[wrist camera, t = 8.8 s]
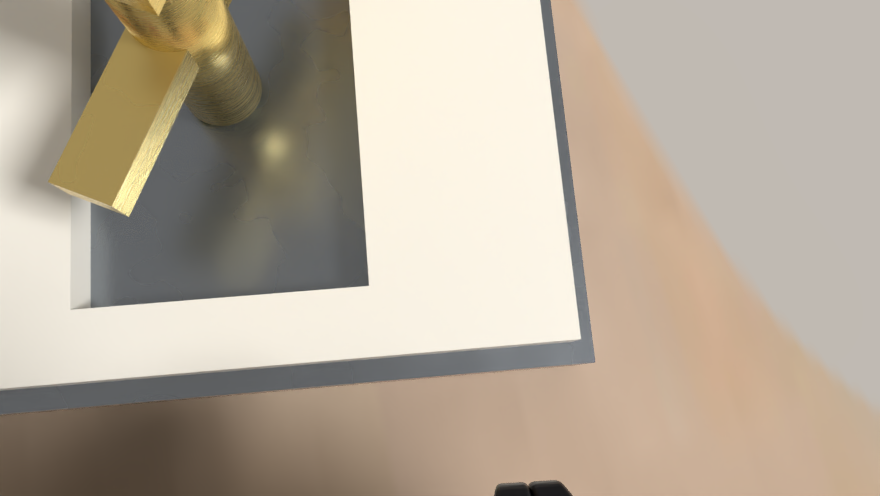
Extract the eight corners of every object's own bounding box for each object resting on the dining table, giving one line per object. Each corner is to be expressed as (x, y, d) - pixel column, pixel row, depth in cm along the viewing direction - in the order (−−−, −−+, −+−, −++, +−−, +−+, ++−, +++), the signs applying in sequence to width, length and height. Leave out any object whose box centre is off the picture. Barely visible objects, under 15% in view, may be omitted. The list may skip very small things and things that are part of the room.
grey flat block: (516, -128, 21) (528, -181, 19) (575, 364, 19) (595, 362, 17) (-63, -101, 20) (-113, -154, 18) (-85, 423, 18) (-147, 427, 16)
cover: (510, -163, 19) (516, -193, 18) (570, 342, 17) (581, 339, 16) (-93, -137, 18) (-122, -167, 17) (-121, 401, 16) (-155, 402, 15)
